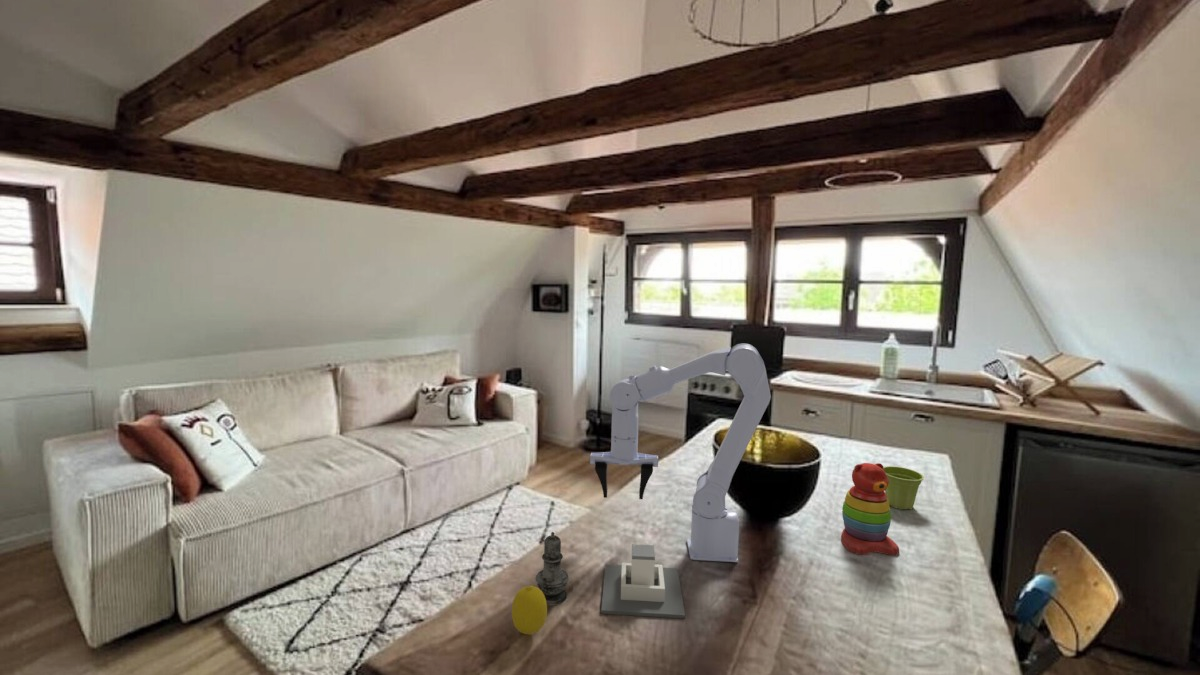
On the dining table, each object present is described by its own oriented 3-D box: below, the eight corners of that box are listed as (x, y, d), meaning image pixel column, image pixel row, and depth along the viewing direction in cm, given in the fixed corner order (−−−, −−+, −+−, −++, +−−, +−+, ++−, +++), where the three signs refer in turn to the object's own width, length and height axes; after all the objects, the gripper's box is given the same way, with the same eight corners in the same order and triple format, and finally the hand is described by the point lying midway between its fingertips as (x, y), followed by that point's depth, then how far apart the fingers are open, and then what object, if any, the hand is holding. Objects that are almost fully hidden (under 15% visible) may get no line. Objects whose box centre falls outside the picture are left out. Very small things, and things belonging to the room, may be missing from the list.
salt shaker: (563, 608, 86) (564, 541, 85) (530, 603, 87) (531, 537, 86) (572, 588, 92) (573, 525, 91) (541, 584, 93) (541, 522, 92)
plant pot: (921, 503, 132) (923, 471, 131) (920, 517, 124) (924, 482, 123) (880, 494, 136) (882, 463, 136) (877, 507, 129) (880, 474, 128)
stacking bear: (852, 555, 105) (858, 472, 103) (829, 531, 115) (834, 456, 113) (903, 555, 105) (910, 473, 104) (876, 532, 115) (882, 456, 114)
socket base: (677, 571, 98) (678, 556, 98) (684, 618, 84) (685, 601, 84) (605, 567, 99) (605, 552, 99) (601, 613, 85) (601, 596, 85)
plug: (652, 581, 94) (653, 545, 93) (653, 594, 90) (654, 557, 89) (630, 580, 94) (631, 544, 93) (631, 593, 90) (632, 555, 89)
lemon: (513, 623, 82) (513, 576, 81) (547, 621, 83) (547, 575, 82) (510, 647, 77) (509, 597, 76) (546, 645, 77) (546, 596, 76)
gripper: (589, 440, 104) (588, 502, 106) (659, 442, 104) (657, 506, 105) (592, 430, 111) (590, 489, 113) (658, 432, 111) (656, 492, 112)
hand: (623, 496), depth 109 cm, fingers open, 7 cm apart
